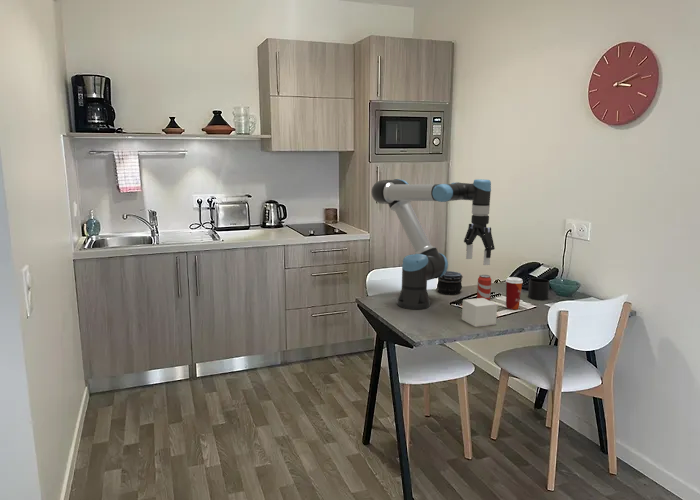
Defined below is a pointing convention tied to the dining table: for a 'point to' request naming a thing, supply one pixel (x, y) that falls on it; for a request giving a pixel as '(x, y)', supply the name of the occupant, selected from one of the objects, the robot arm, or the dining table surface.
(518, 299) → the paper cup
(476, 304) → the plain off-white cube
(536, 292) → the mug
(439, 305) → the dining table surface
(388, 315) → the dining table surface
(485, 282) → the beverage can
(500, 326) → the dining table surface
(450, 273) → the container
